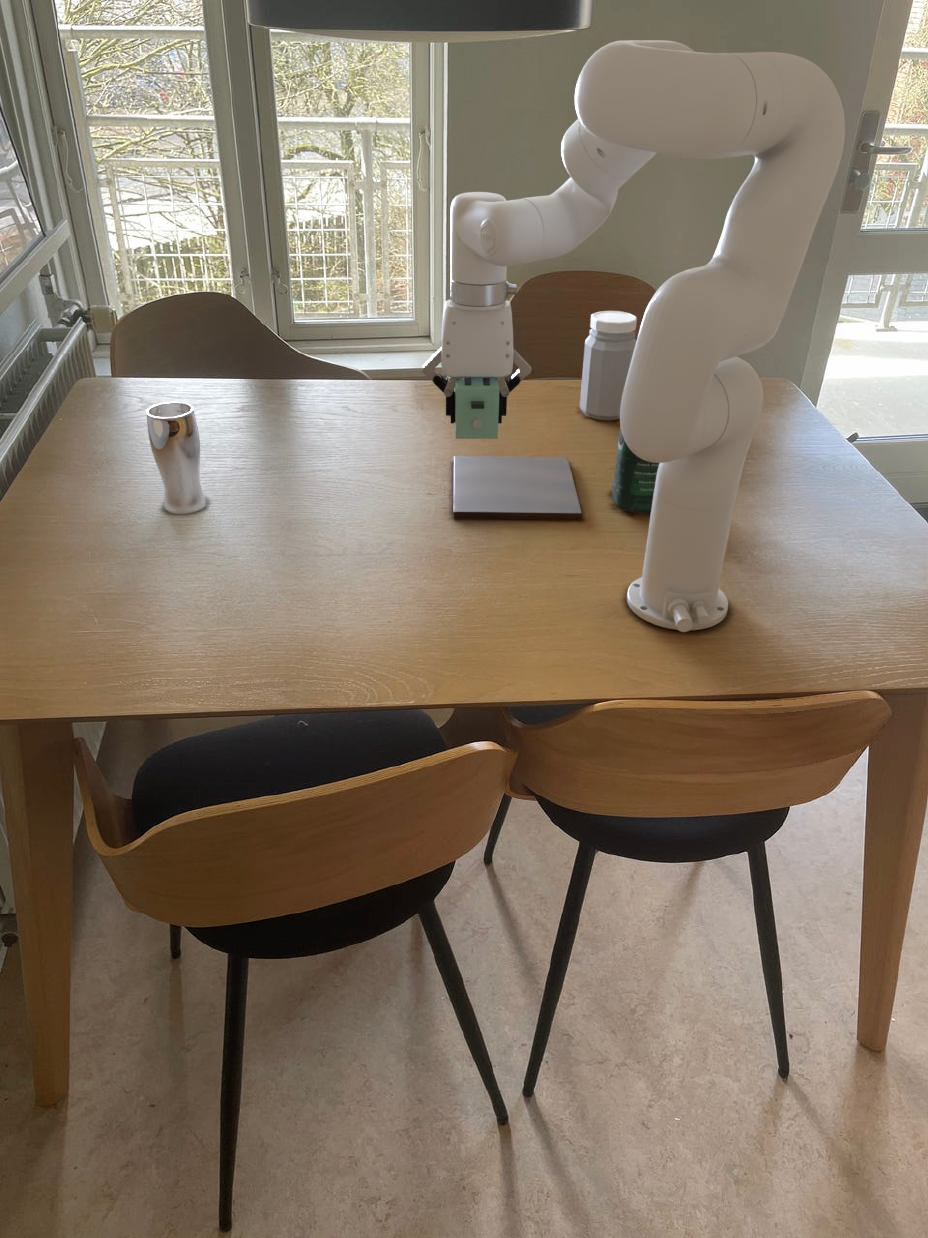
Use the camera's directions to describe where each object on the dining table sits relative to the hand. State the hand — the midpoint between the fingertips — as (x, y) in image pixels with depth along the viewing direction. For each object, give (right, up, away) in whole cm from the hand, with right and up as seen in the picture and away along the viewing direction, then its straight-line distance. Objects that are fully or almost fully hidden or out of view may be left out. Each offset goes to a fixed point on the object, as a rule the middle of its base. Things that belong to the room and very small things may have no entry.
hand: (475, 419), depth 135 cm
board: (+6, -9, +11) cm, 16 cm away
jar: (+25, +10, +41) cm, 49 cm away
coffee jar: (+25, -11, +8) cm, 29 cm away
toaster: (0, -1, 0) cm, 1 cm away
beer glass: (-44, -12, +5) cm, 46 cm away
